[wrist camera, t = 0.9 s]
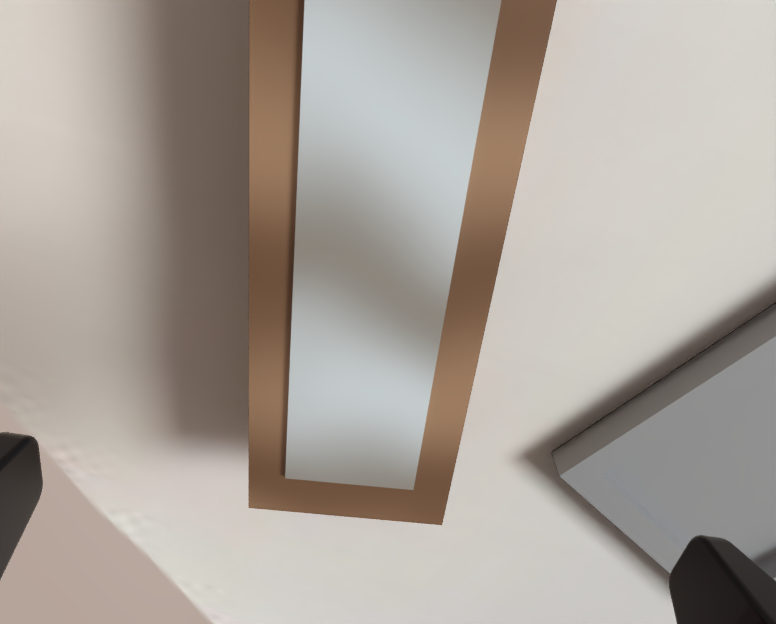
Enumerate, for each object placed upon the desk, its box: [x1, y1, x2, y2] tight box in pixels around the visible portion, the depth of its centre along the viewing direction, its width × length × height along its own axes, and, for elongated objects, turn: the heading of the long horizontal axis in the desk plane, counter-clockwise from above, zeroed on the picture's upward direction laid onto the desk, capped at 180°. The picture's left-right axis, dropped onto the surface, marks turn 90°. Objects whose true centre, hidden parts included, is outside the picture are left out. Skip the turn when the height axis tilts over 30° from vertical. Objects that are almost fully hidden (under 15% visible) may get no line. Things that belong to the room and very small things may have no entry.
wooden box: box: [249, 0, 557, 525], centre depth 16 cm, size 16×6×4 cm, turn 174°
